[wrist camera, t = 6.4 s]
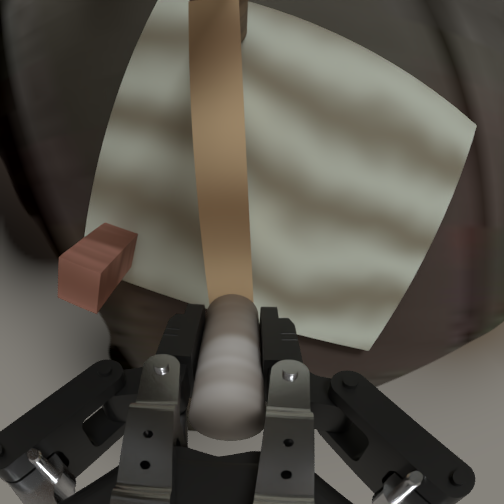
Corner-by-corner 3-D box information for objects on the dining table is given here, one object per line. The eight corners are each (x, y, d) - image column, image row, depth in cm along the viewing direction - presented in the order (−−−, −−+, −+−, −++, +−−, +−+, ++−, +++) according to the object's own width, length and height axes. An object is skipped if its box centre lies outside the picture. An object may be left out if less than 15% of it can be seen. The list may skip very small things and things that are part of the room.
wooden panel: (208, 54, 17) (141, -80, 3) (243, 51, 17) (244, -94, 3) (223, 283, 23) (204, 462, 9) (254, 282, 23) (267, 461, 9)
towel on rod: (168, -10, 15) (88, -134, 1) (470, 125, 20) (614, 152, 5) (86, 259, 24) (-25, 380, 9) (365, 344, 28) (425, 476, 13)
